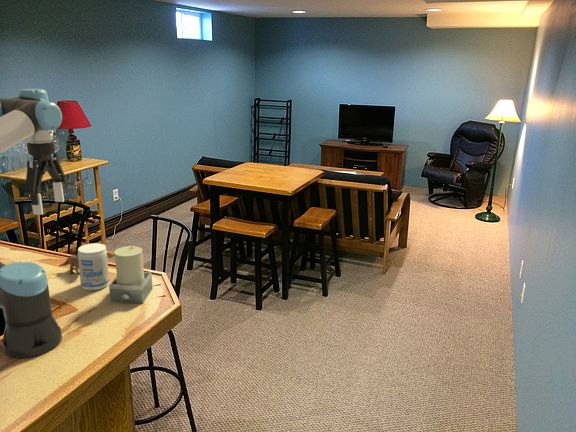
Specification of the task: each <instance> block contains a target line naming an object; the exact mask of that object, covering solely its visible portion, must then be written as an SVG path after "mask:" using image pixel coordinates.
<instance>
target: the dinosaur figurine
mask: <svg viewBox="0 0 576 432" xmlns="http://www.w3.org/2000/svg"><path fill="white" fill-rule="evenodd" d="M68 265H69V275H73V274H76V275H79V276H80V271H79V261H78V253H77V254H71V255H70V256H68V257H67V258H66V260H65V261H64V262H63V263H61V264H59V265H58V267H66V266H68ZM74 271H75V272H76V273H75V272H74Z"/></svg>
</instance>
